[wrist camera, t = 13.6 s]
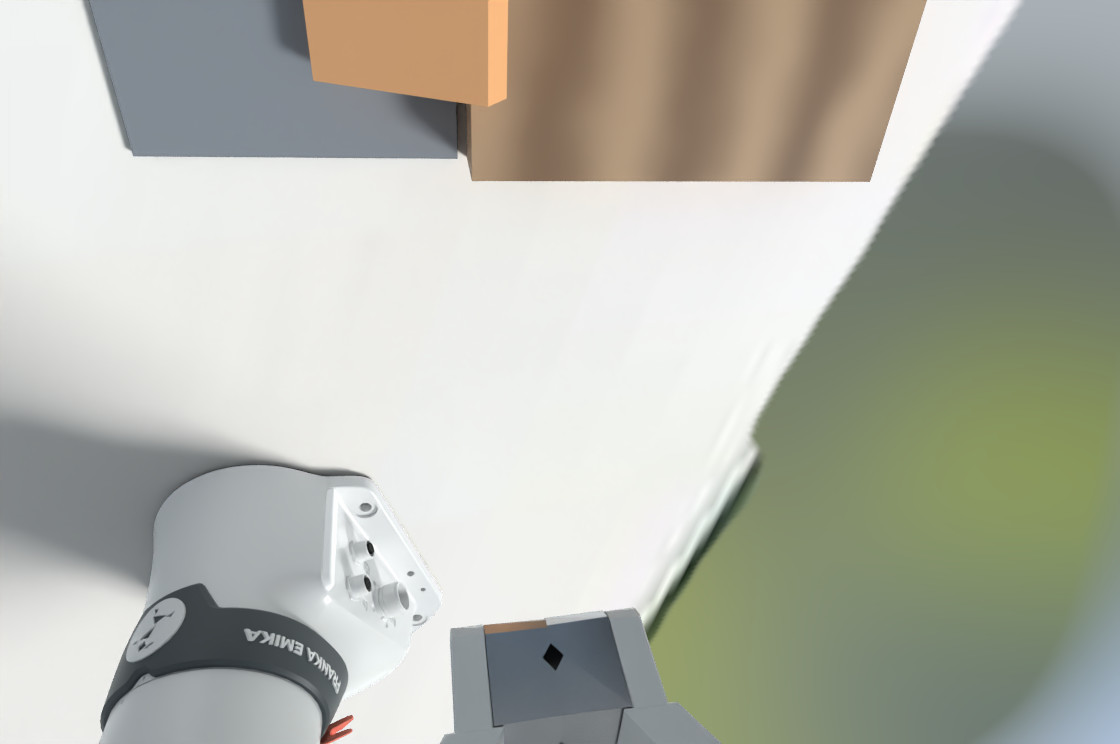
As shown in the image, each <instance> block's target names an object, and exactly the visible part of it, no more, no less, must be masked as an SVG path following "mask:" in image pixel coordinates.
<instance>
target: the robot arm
mask: <svg viewBox="0 0 1120 744" xmlns="http://www.w3.org/2000/svg"><path fill="white" fill-rule="evenodd" d="M363 503H368V504H367V505H365V504H363ZM442 598H443V593H442V590H441V588H440V587H439V585H438V583H437V582H436V580H435V579H434V577H433V575H432V574H431V572H430V570H429V569H428V567H427V566H426V564H425V562H424V561H423V559H422V558H421V556H420V554H419V553H418V551H417V549H416V548H415V546H414V545H413V543H412V541H411V540H410V538H409V537H408V535H407V533H406V532H405V530H404V529H403V527H402V525H401V524H400V522H399V520H398V519H397V517H396V516H395V514H394V512H393V511H392V509H391V508H390V506H389V504H388V503H387V501H386V499H385V498H384V496H383V495H382V493H381V491H380V490H379V488H378V487H377V485H376V484H375V482H373V481H372V480H371V479H369V478H366V477H362V476H328V477H326V476H319V475H315V474H310V473H307V472H303V471H299V470H295V469H290V468H285V467H279V466H268V465H246V466H236V467H229V468H224V469H220V470H216V471H212V472H209V473H206V474H204V475H201V476H199V477H196V478H194V479H192V480H190V481H189V482H187V483H185V484H184V485H182V486H181V487H179V488H178V489H177V490H175V491H174V492H173V493H172V494H171V495H170V496H169V497H168V498H167V499H166V500H165V502H164V503H163V504H162V506H161V508H160V509H159V511H158V513H157V516H156V519H155V522H154V551H153V562H152V571H151V577H150V583H149V588H148V593H147V598H146V603H145V608H144V611H143V615H142V617H141V618H140V620H139V622H138V624H137V626H136V628H135V629H134V631H133V633H132V635H131V637H130V639H129V642H128V644H127V646H126V648H125V650H124V652H123V655H122V657H121V660H120V663H119V665H118V668H117V670H116V673H115V676H114V678H113V681H112V684H111V687H110V690H109V693H108V696H107V699H106V702H105V704H104V707H103V710H102V713H101V720H100V722H101V729H102V732H103V734H102V736H101V739H100V742H99V744H329V743H331V742H333V741H335V740H337V739H340V738H342V737H344V736H345V735H347V734H349V733H351V732H352V729H347V730H344V731H341V732H338V733H336V732H337V731H339V730H341V729H343V728H344V727H345V726H346V725H347V724H348V723H350V722H351V721H352V720H353V716H352V715H350V716H347V717H345V718H343V719H341V720H339V721H336V722H334V723H332V724H330V723H331V721H332V719H333V717H334V715H335V713H336V711H337V708H338V706H339V704H340V702H341V701H343V700H345V699H347V698H349V697H351V696H353V695H355V694H357V693H359V692H360V691H362V690H364V689H366V688H368V687H370V686H371V685H373V684H375V683H377V682H378V681H380V680H381V679H383V678H384V677H386V676H387V675H388V674H390V673H391V672H392V671H393V670H394V669H395V668H396V667H397V666H398V665H399V664H400V663H401V662H402V661H403V659H404V658H405V656H406V654H407V652H408V650H409V647H410V643H411V637H412V633H413V632H415V631H416V630H417V629H419V628H420V627H422V626H423V625H424V624H425V623H426V622H428V621H429V620H430V619H431V618H432V617H433V616H434V614H435V613H436V612H437V611H438V609H439V608H440V606H441V604H442ZM450 649H451V669H452V690H453V710H454V731H455V733H451V734H446V735H444V737H443V739H442V741H441V743H440V744H721V743H720V742H719V741H718V740H717V739H716V738H715V737H714V736H713V735H712V734H711V733H710V732H708V730H707V729H705V728H704V727H703V726H702V725H701V724H700V723H699V722H698V721H697V720H696V719H695V718H694V717H693V716H692V715H691V714H689V713H688V712H687V711H686V710H685V709H684V708H683V707H682V706H681V705H680V704H679V703H678V702H673V703H668V701H667V697H666V694H665V691H664V688H663V685H662V682H661V679H660V676H659V673H658V670H657V667H656V663H655V660H654V657H653V654H652V651H651V648H650V645H649V642H648V639H647V636H646V633H645V630H644V626H643V623H642V620H641V617H640V614H639V613H638V612H637V610H636V609H635V608H626V609H619V610H611V611H595V612H587V613H580V614H572V615H565V616H557V617H549V618H544V619H540V620H530V621H520V622H510V623H500V624H490V625H483V626H482V625H477V626H468V627H460V628H451V630H450ZM335 733H336V734H335Z"/></svg>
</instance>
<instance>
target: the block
mask: <svg viewBox="0 0 1120 744" xmlns="http://www.w3.org/2000/svg"><path fill="white" fill-rule="evenodd" d="M303 7H304V15H305V22H306V30H307V37H308V45H309V53H310V60H311V68H312V75H313V81H318V82H325V83H331V84H338V85H345V86H351V87H358V88H365V89H372V90H378V91H385V92H392V93H398V94H405V95H412V96H418V97H425V98H432V99H438V100H445V101H452V102H458V103H465V104H472V105H479V106H485V107H489V106H491V105H493V104H496V103H498V102H500V101H502V100H504V99H507V43H508V0H303Z"/></svg>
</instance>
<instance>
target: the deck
mask: <svg viewBox="0 0 1120 744" xmlns="http://www.w3.org/2000/svg"><path fill="white" fill-rule="evenodd" d="M926 1H927V0H508V43H507V99H504V100H502V101H500V102H498V103H496V104H493V105H491V106H489V107H485V106H479V105H472V104H466V128H467V160H468V164H469V169H470V174H471V178H472V181H809V182H870V180H871V177H872V173H873V170H874V167H875V164H876V161H877V157H878V154H879V151H880V148H881V145H882V141H883V138H884V135H885V132H886V129H887V126H888V122H889V119H890V116H891V113H892V110H893V106H894V103H895V100H896V97H897V94H898V91H899V87H900V84H901V81H902V78H903V75H904V71H905V68H906V65H907V62H908V59H909V56H910V52H911V49H912V46H913V43H914V40H915V36H916V33H917V30H918V27H919V24H920V21H921V17H922V14H923V11H924V8H925V5H926Z"/></svg>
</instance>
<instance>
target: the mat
mask: <svg viewBox="0 0 1120 744" xmlns="http://www.w3.org/2000/svg"><path fill="white" fill-rule="evenodd" d="M89 2H90V6H91V9H92V13H93V16H94V20H95V23H96V27H97V30H98V34H99V37H100V41H101V44H102V48H103V51H104V55H105V58H106V62H107V65H108V69H109V72H110V76H111V79H112V83H113V86H114V90H115V93H116V97H117V101H118V104H119V108H120V111H121V115H122V118H123V122H124V125H125V129H126V132H127V136H128V139H129V143H130V146H131V150H132V153H133V156H172V157H305V158H439V159H457V119H456V102H452V101H445V100H438V99H432V98H425V97H418V96H412V95H405V94H398V93H392V92H385V91H378V90H372V89H365V88H358V87H351V86H345V85H338V84H331V83H325V82H318V81H313V75H312V68H311V60H310V53H309V45H308V37H307V30H306V22H305V15H304V7H303V0H89Z"/></svg>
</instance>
